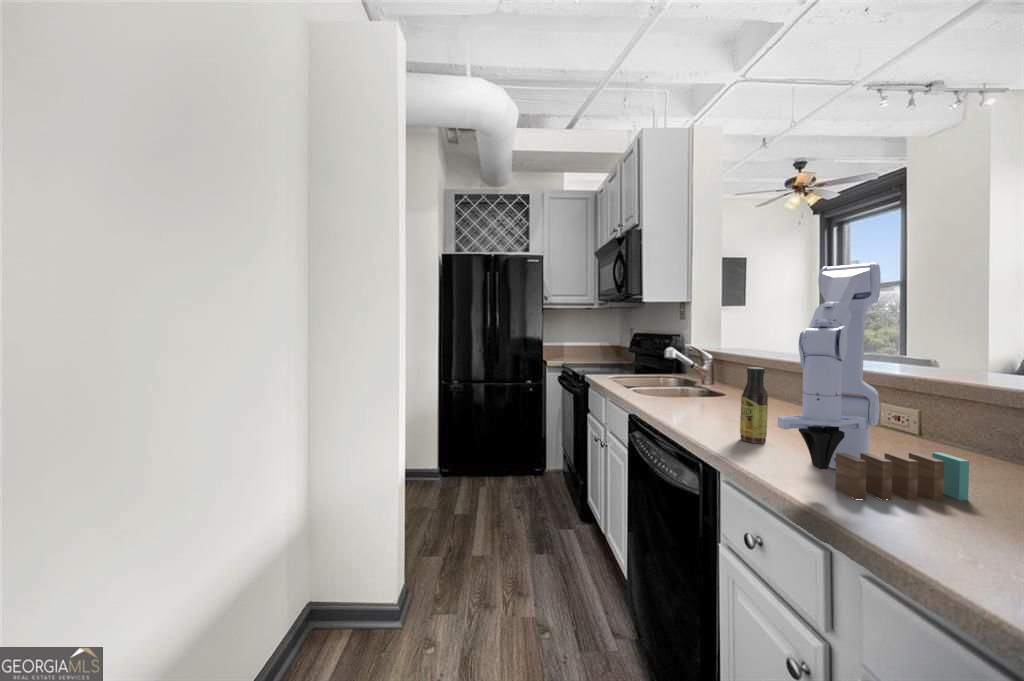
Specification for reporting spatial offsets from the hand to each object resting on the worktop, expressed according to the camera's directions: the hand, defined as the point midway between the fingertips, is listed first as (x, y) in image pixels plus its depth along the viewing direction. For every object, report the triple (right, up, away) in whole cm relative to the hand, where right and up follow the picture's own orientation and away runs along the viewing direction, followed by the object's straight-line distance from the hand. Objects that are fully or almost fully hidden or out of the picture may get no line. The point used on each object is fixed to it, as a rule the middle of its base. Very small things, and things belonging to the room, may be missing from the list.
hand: (820, 467), depth 77 cm
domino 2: (+10, -5, 0) cm, 11 cm away
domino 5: (+23, -5, 0) cm, 24 cm away
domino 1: (+5, -5, 0) cm, 7 cm away
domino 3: (+14, -5, 0) cm, 15 cm away
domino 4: (+19, -5, 0) cm, 20 cm away
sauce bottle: (+8, -4, +36) cm, 37 cm away
